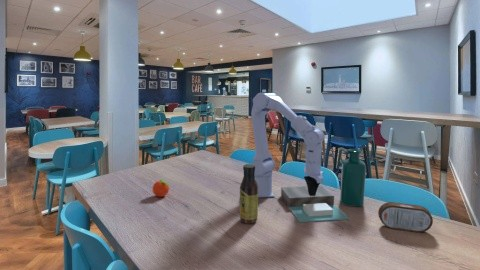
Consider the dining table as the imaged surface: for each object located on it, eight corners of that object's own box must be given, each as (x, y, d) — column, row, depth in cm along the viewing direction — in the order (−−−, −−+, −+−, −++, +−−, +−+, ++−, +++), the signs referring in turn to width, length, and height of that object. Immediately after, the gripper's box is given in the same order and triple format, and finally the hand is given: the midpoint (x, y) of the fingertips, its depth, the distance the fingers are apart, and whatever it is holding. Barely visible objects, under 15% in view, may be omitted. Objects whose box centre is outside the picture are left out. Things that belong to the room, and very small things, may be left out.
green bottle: (361, 199, 111) (365, 147, 108) (364, 207, 103) (367, 151, 100) (336, 197, 114) (339, 146, 111) (337, 204, 106) (339, 150, 103)
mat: (299, 222, 92) (299, 221, 92) (289, 207, 103) (289, 206, 103) (349, 219, 94) (349, 218, 94) (333, 205, 105) (333, 204, 105)
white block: (303, 204, 101) (302, 209, 101) (309, 211, 95) (308, 216, 95) (325, 203, 102) (325, 208, 102) (333, 209, 96) (332, 214, 96)
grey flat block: (289, 207, 103) (289, 198, 103) (281, 196, 115) (281, 187, 115) (333, 205, 105) (334, 195, 105) (321, 194, 117) (321, 185, 117)
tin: (429, 230, 86) (432, 205, 85) (432, 235, 83) (435, 209, 82) (377, 223, 91) (378, 199, 90) (378, 227, 88) (380, 203, 87)
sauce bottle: (239, 216, 96) (238, 162, 93) (256, 216, 97) (256, 162, 94) (240, 225, 90) (240, 168, 87) (259, 224, 90) (259, 167, 87)
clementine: (174, 195, 118) (174, 179, 117) (164, 200, 111) (163, 184, 110) (160, 192, 121) (159, 177, 120) (149, 197, 115) (148, 181, 114)
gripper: (331, 165, 95) (330, 202, 97) (316, 156, 109) (314, 188, 111) (312, 166, 94) (311, 202, 96) (299, 156, 109) (298, 189, 111)
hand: (312, 195), depth 104 cm, fingers closed
